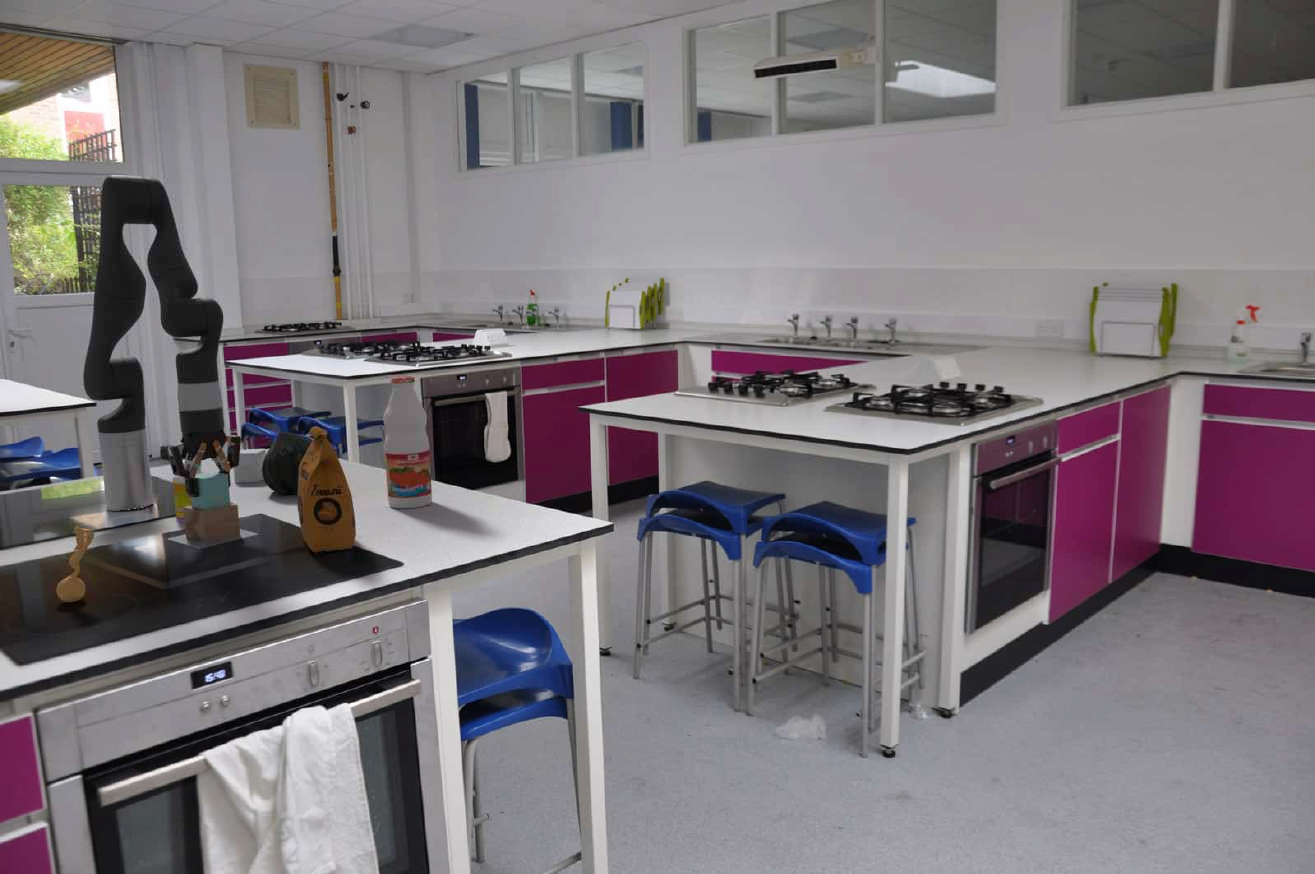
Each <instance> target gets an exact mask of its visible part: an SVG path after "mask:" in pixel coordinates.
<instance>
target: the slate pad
mask: <svg viewBox="0 0 1315 874" xmlns="http://www.w3.org/2000/svg"><path fill="white" fill-rule="evenodd" d="M258 535H260V533H258V532H253V531H250V530H246V529H241V528H240V535H238V536H234V537H230V538H226V539H222V540H217V541H213V542H209V543H203V542H199V541H196V540H192V539H189V538H186V533H184V534H181V535H177V536H173V537H169V538H167V540H169V541H172V542H174V543H175V542H176V543H179V544H182V545H185V546H189V547H193V548H196V549H199V550H201V549H204V548H210V547H213V546H216V545H221V544H225V543H229V542H234V541H238V540H241V539H246V538H251V537H254V536H258Z"/></svg>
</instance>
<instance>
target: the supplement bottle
mask: <svg viewBox="0 0 1315 874" xmlns="http://www.w3.org/2000/svg"><path fill="white" fill-rule="evenodd" d="M193 460H194V459H193ZM182 461H183V464H184V467H185V459H182ZM201 467H202V463H201V464H200V466H199V467H198V469H197V472H196V474H202V473H206V472H205V471H203V470H202V468H201ZM172 486H173V487H172V489H173V499H174V508H175V509H174V512H175V519H176V521H178V522H184V511H183V507H186V506H191V497H190V496H189V495H188V494H187V493H186V486H185V478H184V477H181V476H176V475H174V474H173V477H172Z"/></svg>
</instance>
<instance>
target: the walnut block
mask: <svg viewBox="0 0 1315 874" xmlns="http://www.w3.org/2000/svg"><path fill="white" fill-rule="evenodd" d="M238 505H239V504H235V503H231V502H230V505H228V506H223V507H218V508H213V509H209V510H203V509H199V508H195V507H192V506H186V507H183V511H184V521H183V522H184V529H185V534H186V538H189V539H192V540H196V541H199V542H203V543H209V542H213V541H217V540H222V539H226V538H230V537H234V536H238V535H240V529H241V528H240V527H241V526H240V518H239V506H238Z"/></svg>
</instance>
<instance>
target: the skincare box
mask: <svg viewBox="0 0 1315 874" xmlns="http://www.w3.org/2000/svg"><path fill="white" fill-rule="evenodd" d="M266 451H267V450H266V448H251V449H250V448H245V449H244V448H242V449H240V458H239V465H238V466H237V467H234V468H232V469H233V477H234V478H233V479H234V480H233V481H234V483H236V484H237V483H240V484H241V483H242V484H243V483H260V482H261V481H264V479H263V476H262V464H263V461H264V458H265V456H266V454H267V452H266Z"/></svg>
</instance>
